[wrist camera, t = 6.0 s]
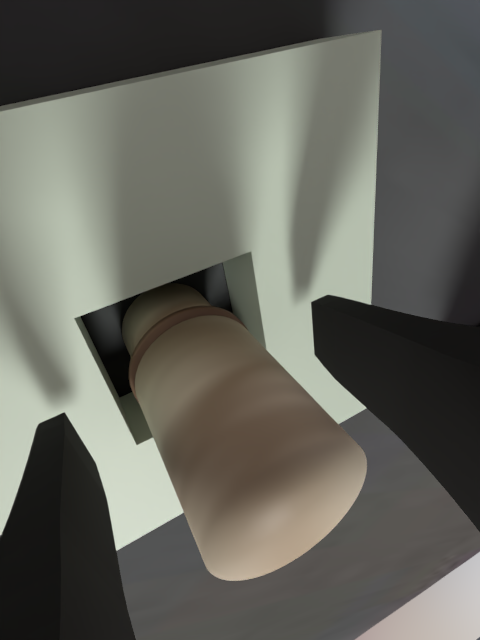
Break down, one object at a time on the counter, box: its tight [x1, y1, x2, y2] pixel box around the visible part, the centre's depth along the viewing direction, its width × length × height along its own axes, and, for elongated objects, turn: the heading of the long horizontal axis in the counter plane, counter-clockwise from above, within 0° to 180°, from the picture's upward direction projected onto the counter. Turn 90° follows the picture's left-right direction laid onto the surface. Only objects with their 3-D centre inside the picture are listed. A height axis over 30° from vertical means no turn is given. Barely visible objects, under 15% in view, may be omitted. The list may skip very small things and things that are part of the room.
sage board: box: [0, 30, 381, 551], centre depth 13 cm, size 14×14×2 cm
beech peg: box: [122, 283, 367, 581], centre depth 11 cm, size 4×4×8 cm
